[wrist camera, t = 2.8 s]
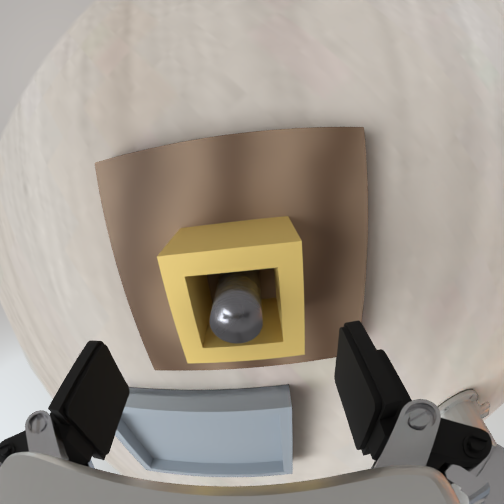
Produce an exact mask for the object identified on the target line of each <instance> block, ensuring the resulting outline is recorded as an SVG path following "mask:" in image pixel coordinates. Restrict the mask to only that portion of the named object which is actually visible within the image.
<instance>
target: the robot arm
mask: <svg viewBox="0 0 504 504" xmlns="http://www.w3.org/2000/svg"><path fill="white" fill-rule="evenodd" d="M335 383H336V386H337V389H338V392H339V395H340V398H341V401H342V405H343V408H344V411H345V414H346V417H347V420H348V423H349V427H350V430H351V433H352V436H353V439H354V443H355V446H356V448H357V450H360V449H361V450H362V453H363V456H364V455H367V454H371V456H372V459H374V460H375V462H374V463H373V465H372V467H371V469H367V470H362V471H357V472H352V473H347V474H342V475H337V476H332V477H327V478H321V479H315V480H309V481H301V482H294V483H285V484H275V485H263V486H240V487H218V486H195V485H182V484H172V483H164V482H156V481H150V480H144V479H138V478H133V477H128V476H123V475H118V474H114V473H110V472H106V471H102V470H98V469H95V468H94V466H93V464H92V461H91V457H92V456H93V457H94V458H98V459H102V460H104V459H105V456H106V455H107V454H108V453H109V451H110V448H111V445H112V442H113V439H114V436H115V433H116V430H117V427H118V424H119V422H120V419H121V416H122V413H123V410H124V408H125V405H126V402H127V399H128V397H129V393H130V391H129V387H128V385H127V383H126V381H125V380H124V378H123V376H122V374H121V372H120V371H119V369H118V367H117V365H116V363H115V361H114V359H113V357H112V355H111V353H110V351H109V349H108V347H107V346H106V345H104V343H103V342H102V341H89V342H88V343H87V344H86V346H85V347H84V349H83V350H82V352H81V354H80V355H79V357H78V358H77V360H76V362H75V363H74V365H73V366H72V368H71V370H70V371H69V373H68V375H67V376H66V378H65V380H64V381H63V383H62V385H61V386H60V388H59V390H58V392H57V393H56V395H55V397H54V399H53V400H52V402H51V404H50V406H49V408H48V409H49V410H50V411H51V413H50V415H49V414H48V413H47V412H45V411H36V412H34V413H32V414H31V415H30V416H29V417H28V419H27V421H26V424H25V431H23V432H21V433H19V434H17V435H14V436H12V437H10V438H8V439H5V440H4V441H2V442H1V443H0V504H504V448H503V447H501V446H500V445H498V444H496V442H495V440H494V439H493V437H492V435H491V433H490V432H489V430H488V428H487V426H486V425H485V423H484V421H483V420H482V418H484V417H486V416H487V415H488V414H489V409H488V408H489V407H490V404H489V402H486V403H484V404H482V405H481V406H479V405H478V403H477V400H478V395H477V393H476V392H475V391H474V390H467V391H464V392H461V393H459V394H457V395H455V396H454V397H452V398H450V399H449V400H447V401H446V402H444V403H443V404H442V405H440V406H439V407H437V406H436V405H435V404H434V403H432V402H431V401H428V400H424V399H417V400H413V401H412V400H411V398H410V396H409V394H408V392H407V391H406V389H405V387H404V385H403V383H402V381H401V380H400V378H399V376H398V374H397V372H396V371H395V369H394V367H393V365H392V363H391V362H390V360H389V358H388V356H387V355H386V353H385V352H384V351H383V350H382V349H381V350H376V348H375V346H374V345H373V343H372V341H371V339H370V337H369V336H368V334H367V332H366V330H365V329H364V327H363V325H362V324H361V322H360V321H359V320H358V321H352V322H346V323H344V327H340V329H339V338H338V349H337V358H336V367H335Z"/></svg>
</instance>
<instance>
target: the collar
mask: <svg viewBox="0 0 504 504" xmlns="http://www.w3.org/2000/svg"><path fill="white" fill-rule="evenodd" d="M157 259H158V263H159V267H160V271H161V275H162V279H163V283H164V287H165V291H166V294H167V298H168V302H169V305H170V309H171V312H172V316H173V319H174V322H175V326H176V329H177V332H178V335H179V338H180V342H181V345H182V348H183V351H184V354H185V357H186V360H187V363H218V362H236V361H250V360H261V359H272V358H281V357H290V356H298V355H305V323H304V281H303V256H302V241H301V239H300V237H299V235H298V233H297V231H296V230H295V228H294V226H293V224H292V222H291V220H290V219H289V217H288V216H283V217H273V218H263V219H254V220H245V221H236V222H227V223H219V224H210V225H202V226H194V227H186V228H180V229H179V230H178V232H177V233H176V234H175V235H174V236H173V238H172V239H171V240H170V241H169V242H168V244H167V245H166V246H165V247H164V248H163V250H162V251H161V252H160V253H159V255H158V256H157ZM267 268H274V276H275V288H276V298H268V299H261V304H262V319H263V325H262V329H261V331H260V333H259V334H258V335H257V336H256V337H255V338H254V339H252V340H250V341H248V342H245V343H237V344H236V343H229V342H226V341H223V340H221V339H220V338H218V337H217V336H216V335H215V334H214V333H213V331H212V329H211V327H210V315H211V310H212V306H213V304H212V299H211V294H210V289H209V284H208V279H207V274H218V273H228V272H238V271H248V270H258V269H267Z"/></svg>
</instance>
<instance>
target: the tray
mask: <svg viewBox="0 0 504 504" xmlns="http://www.w3.org/2000/svg"><path fill="white" fill-rule="evenodd" d="M129 391H130V393H129V397H128V399H127V402H126V405H125V408H124V410H123V413H122V416H121V419H120V422H119V424H118V427H117V430H116V433H115V436H116V437H117V438H118V439H119V441H120V442H121V443H122V444H123V445H124V446H125V448H126V449H127V450H128V451H129V452H130V453H131V454H132V455H133V456H134V458H135V459H136V460H137V461H138V462H139V463H140V464H141V465H142V466H143V467H144V468H145V469H146V470H149V471H156V472H163V473H171V474H180V475H191V476H207V477H256V476H272V475H284V474H292V404H291V397H290V390H289V385H280V386H270V387H259V388H245V389H225V390H164V389H145V388H131V387H129Z"/></svg>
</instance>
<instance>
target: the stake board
mask: <svg viewBox="0 0 504 504" xmlns="http://www.w3.org/2000/svg"><path fill="white" fill-rule="evenodd" d="M95 169H96V175H97V181H98V187H99V192H100V197H101V203H102V207H103V212H104V217H105V221H106V226H107V230H108V234H109V238H110V242H111V246H112V250H113V254H114V257H115V261H116V264H117V268H118V271H119V275H120V278H121V281H122V284H123V288H124V291H125V294H126V297H127V300H128V303H129V306H130V309H131V312H132V314H133V317H134V320H135V323H136V325H137V328H138V331H139V333H140V336H141V338H142V341H143V343H144V346H145V348H146V351H147V353H148V356H149V358H150V360H151V363H152V365H153V367H154V370H220V369H238V368H252V367H264V366H274V365H283V364H292V363H300V362H307V361H314V360H321V359H327V358H333V357H337V349H338V338H339V329H340V327H344V323H346V322H352V321H358V320H359V321H360V322H361V321H362V313H363V303H364V292H365V279H366V263H367V239H368V186H367V162H366V147H365V134H364V127H316V128H294V129H279V130H266V131H256V132H246V133H238V134H230V135H222V136H215V137H209V138H202V139H196V140H190V141H185V142H179V143H174V144H169V145H164V146H159V147H155V148H150V149H146V150H141V151H137V152H133V153H129V154H125V155H121V156H117V157H114V158H110V159H106V160H103V161H99V162H96V163H95ZM283 216H288V217H289V219H290V220H291V222H292V224H293V226H294V228H295V230H296V231H297V233H298V235H299V237H300V239H301V241H302V256H303V281H304V323H305V355H298V356H290V357H281V358H272V359H261V360H250V361H236V362H218V363H187V360H186V357H185V354H184V351H183V348H182V345H181V342H180V338H179V335H178V332H177V329H176V326H175V322H174V319H173V316H172V312H171V309H170V305H169V302H168V298H167V294H166V291H165V287H164V283H163V279H162V275H161V271H160V267H159V263H158V259H157V256H158V255H159V253H160V252H161V251H162V250H163V248H164V247H165V246H166V245H167V244H168V242H169V241H170V240H171V239H172V238H173V236H174V235H175V234H176V233H177V232H178V230H179V229H180V228H186V227H194V226H202V225H210V224H219V223H227V222H236V221H245V220H254V219H263V218H273V217H283ZM219 275H220V273H218V274H207V279H208V284H209V289H210V294H211V299H212V304H213V301H214V297H215V292H216V288H217V284H218V279H219ZM259 275H260V290H261V299H268V298H276V288H275V276H274V268H267V269H259Z"/></svg>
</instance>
